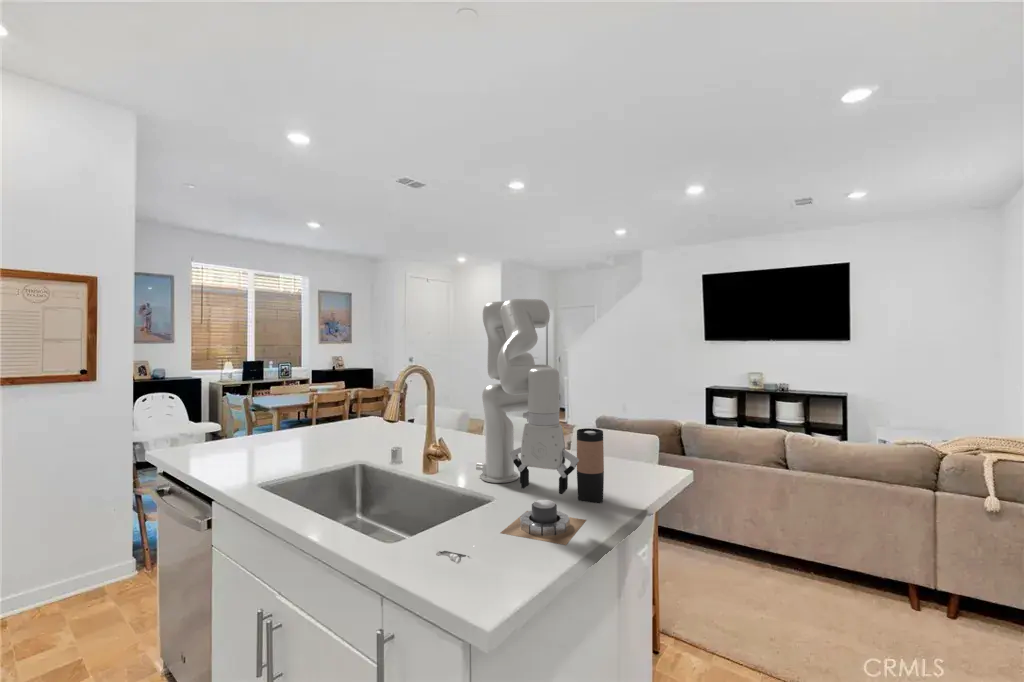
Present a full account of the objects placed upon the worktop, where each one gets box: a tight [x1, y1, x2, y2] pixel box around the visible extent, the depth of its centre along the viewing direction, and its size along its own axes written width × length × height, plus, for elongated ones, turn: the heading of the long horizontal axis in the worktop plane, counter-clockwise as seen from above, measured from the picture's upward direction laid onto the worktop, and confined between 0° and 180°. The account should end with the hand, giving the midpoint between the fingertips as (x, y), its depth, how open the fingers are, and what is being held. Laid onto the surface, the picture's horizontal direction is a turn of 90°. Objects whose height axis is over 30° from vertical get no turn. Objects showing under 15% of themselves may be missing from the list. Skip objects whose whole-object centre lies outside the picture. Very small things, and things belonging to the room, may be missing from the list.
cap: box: [531, 499, 558, 524], centre depth 112 cm, size 6×6×5 cm
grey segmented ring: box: [519, 510, 570, 536], centre depth 112 cm, size 12×12×2 cm
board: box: [499, 510, 587, 546], centre depth 112 cm, size 16×16×1 cm
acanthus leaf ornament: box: [435, 540, 476, 564], centre depth 101 cm, size 8×7×2 cm
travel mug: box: [576, 427, 605, 505], centre depth 134 cm, size 8×8×20 cm
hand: (543, 489), depth 113 cm, fingers open, 9 cm apart
